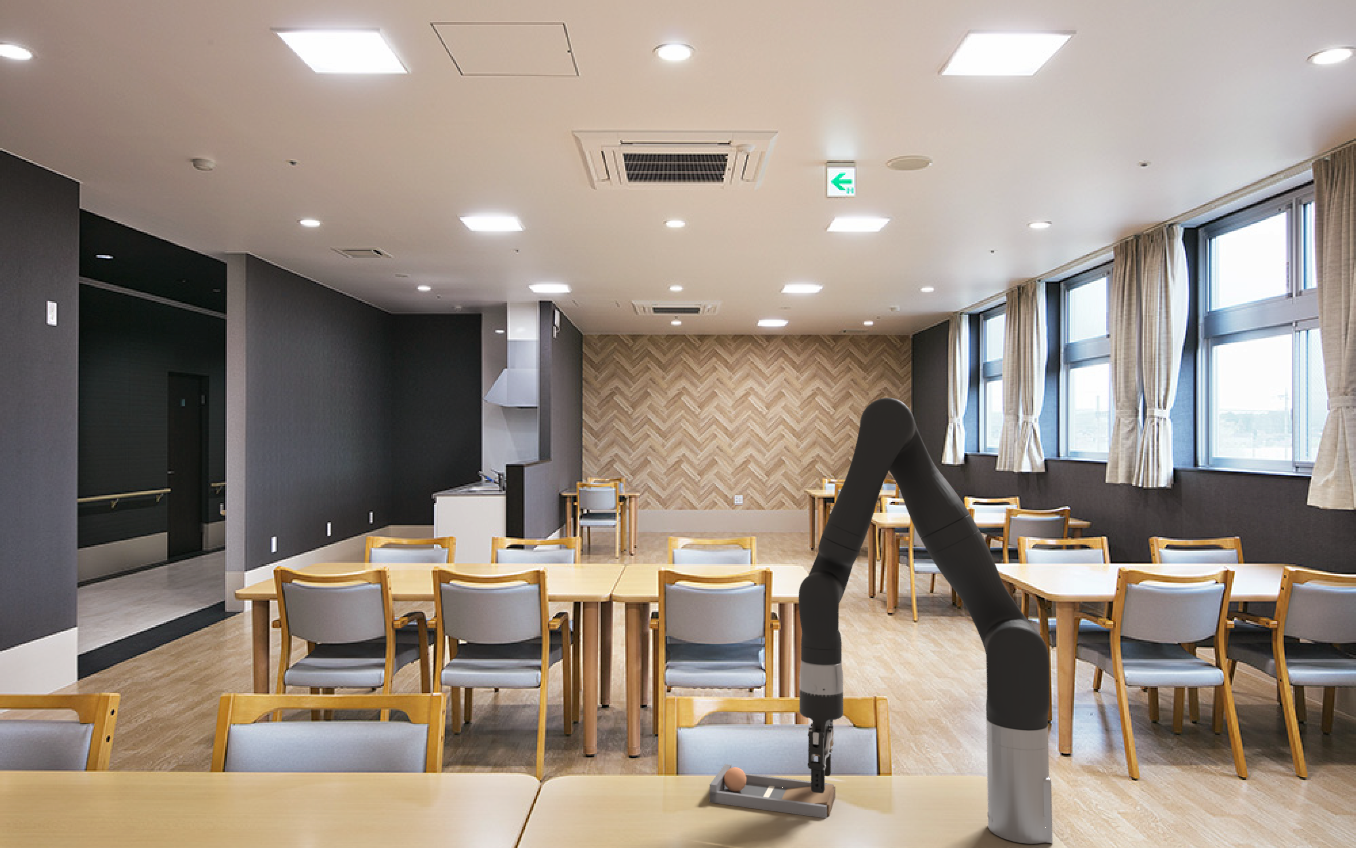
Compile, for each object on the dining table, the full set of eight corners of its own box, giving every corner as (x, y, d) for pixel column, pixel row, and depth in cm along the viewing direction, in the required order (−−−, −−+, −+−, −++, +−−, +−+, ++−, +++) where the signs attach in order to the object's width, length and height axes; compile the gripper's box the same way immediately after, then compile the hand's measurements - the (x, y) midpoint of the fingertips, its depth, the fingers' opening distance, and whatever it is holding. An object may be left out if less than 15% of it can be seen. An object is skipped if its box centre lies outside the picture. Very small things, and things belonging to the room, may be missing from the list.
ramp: (835, 801, 142) (835, 784, 142) (829, 820, 134) (829, 802, 134) (786, 795, 145) (786, 778, 145) (778, 813, 137) (778, 795, 137)
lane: (833, 794, 143) (833, 777, 144) (826, 818, 133) (826, 799, 133) (724, 780, 149) (725, 764, 150) (709, 802, 139) (709, 784, 139)
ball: (748, 765, 145) (727, 762, 146) (744, 773, 141) (721, 770, 142) (748, 788, 145) (726, 785, 146) (743, 796, 141) (721, 793, 142)
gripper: (838, 699, 132) (838, 801, 131) (847, 680, 146) (847, 772, 145) (793, 695, 135) (792, 795, 133) (805, 676, 148) (805, 767, 147)
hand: (821, 783), depth 139 cm, fingers open, 8 cm apart
